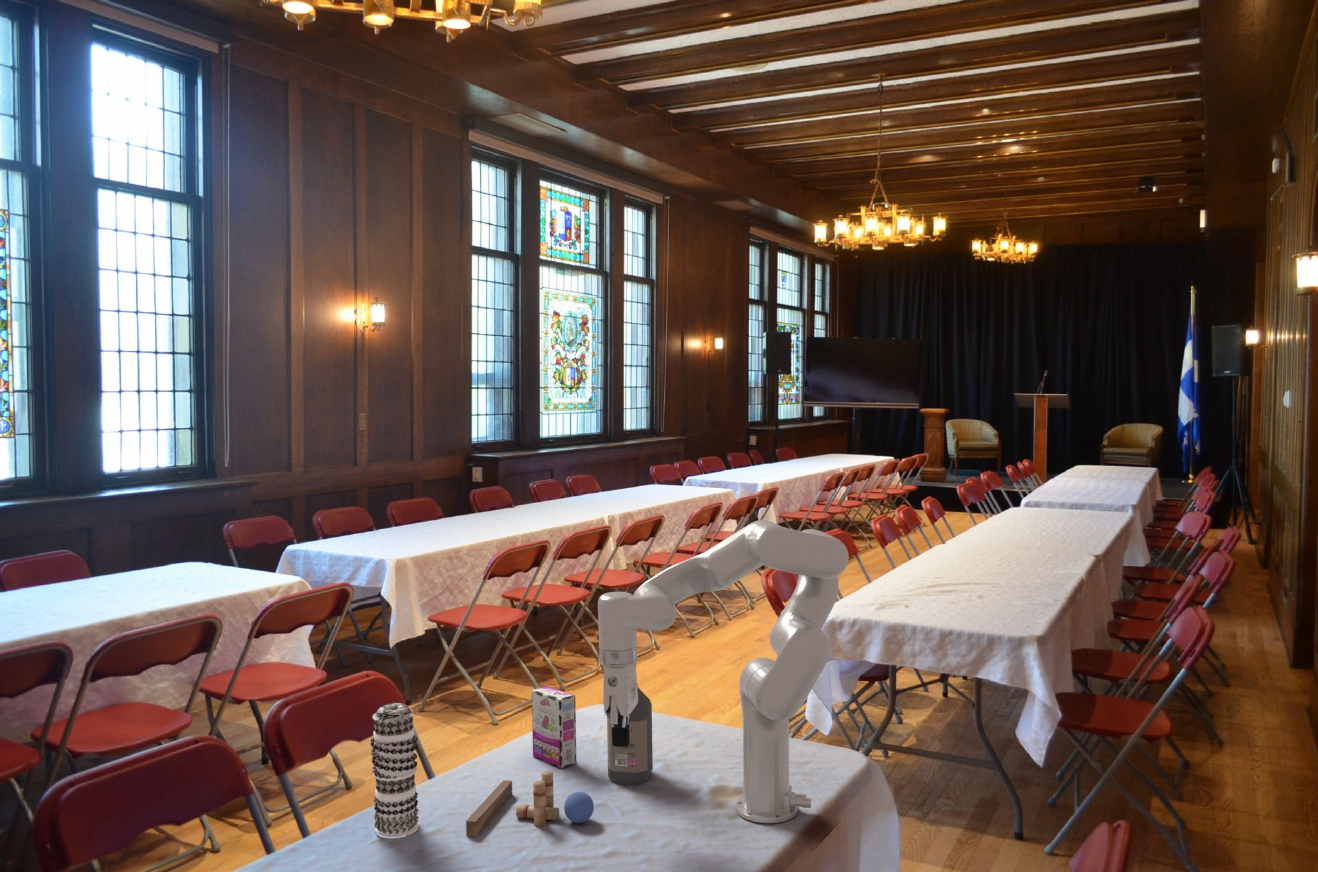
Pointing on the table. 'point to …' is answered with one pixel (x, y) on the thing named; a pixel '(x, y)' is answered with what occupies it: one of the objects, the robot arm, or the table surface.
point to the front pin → (528, 812)
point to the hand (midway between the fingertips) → (621, 744)
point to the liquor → (633, 746)
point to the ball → (579, 807)
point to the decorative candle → (394, 770)
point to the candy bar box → (554, 726)
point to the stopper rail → (488, 808)
